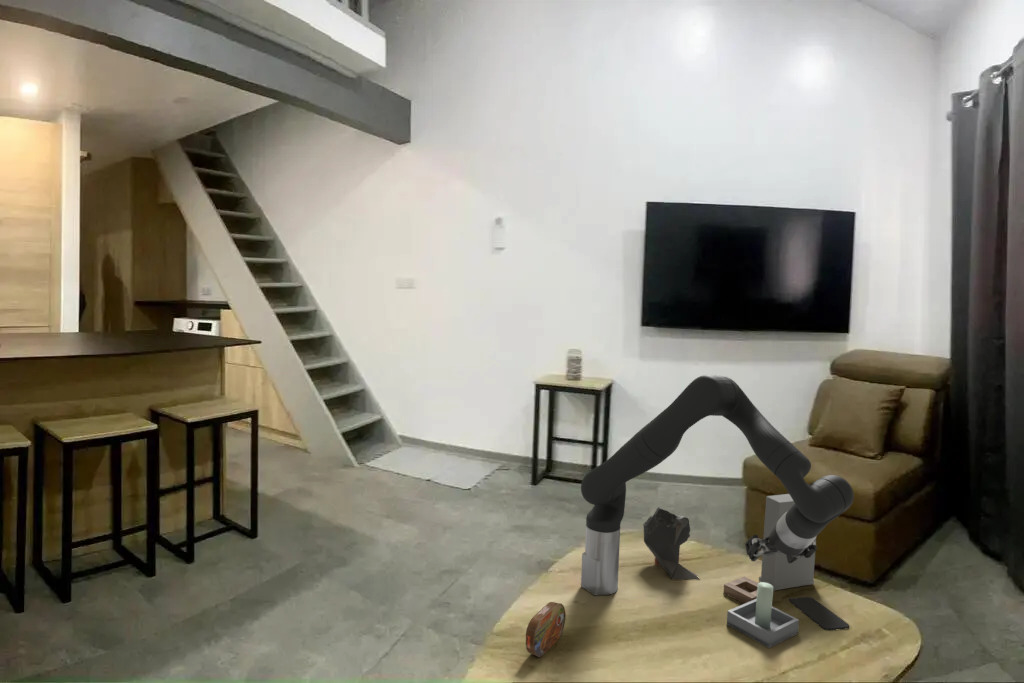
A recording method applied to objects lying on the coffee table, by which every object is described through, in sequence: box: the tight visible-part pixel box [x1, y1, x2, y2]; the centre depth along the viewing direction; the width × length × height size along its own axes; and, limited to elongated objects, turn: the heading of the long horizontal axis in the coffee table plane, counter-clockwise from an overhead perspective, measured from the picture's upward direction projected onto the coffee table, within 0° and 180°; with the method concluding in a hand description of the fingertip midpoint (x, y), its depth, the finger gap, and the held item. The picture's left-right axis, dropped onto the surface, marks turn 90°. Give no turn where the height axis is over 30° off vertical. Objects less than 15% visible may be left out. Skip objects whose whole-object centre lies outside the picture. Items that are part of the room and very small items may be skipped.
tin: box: [525, 601, 567, 658], centre depth 140 cm, size 15×3×8 cm, turn 148°
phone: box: [788, 596, 850, 631], centre depth 157 cm, size 7×1×15 cm
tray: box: [726, 599, 800, 649], centre depth 149 cm, size 12×12×4 cm
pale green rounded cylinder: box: [755, 581, 774, 629], centre depth 149 cm, size 4×4×10 cm
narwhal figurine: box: [642, 506, 700, 579], centre depth 180 cm, size 14×15×18 cm
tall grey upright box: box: [758, 493, 817, 592], centre depth 172 cm, size 14×6×25 cm, turn 108°
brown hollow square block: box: [723, 576, 759, 604], centre depth 165 cm, size 9×9×2 cm
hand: (770, 558), depth 145 cm, fingers open, 8 cm apart
